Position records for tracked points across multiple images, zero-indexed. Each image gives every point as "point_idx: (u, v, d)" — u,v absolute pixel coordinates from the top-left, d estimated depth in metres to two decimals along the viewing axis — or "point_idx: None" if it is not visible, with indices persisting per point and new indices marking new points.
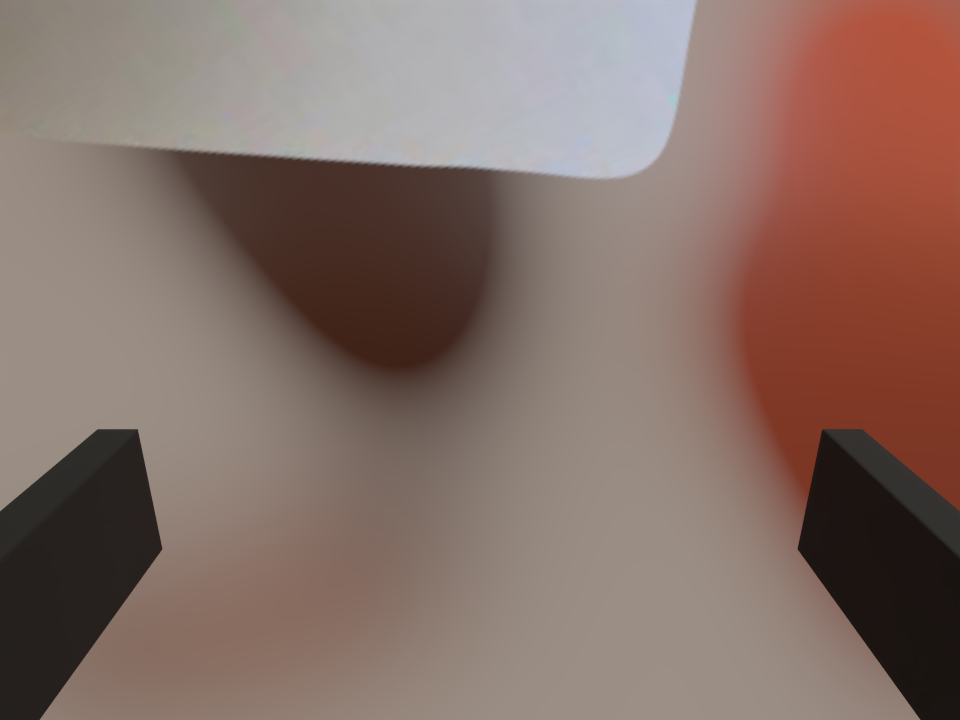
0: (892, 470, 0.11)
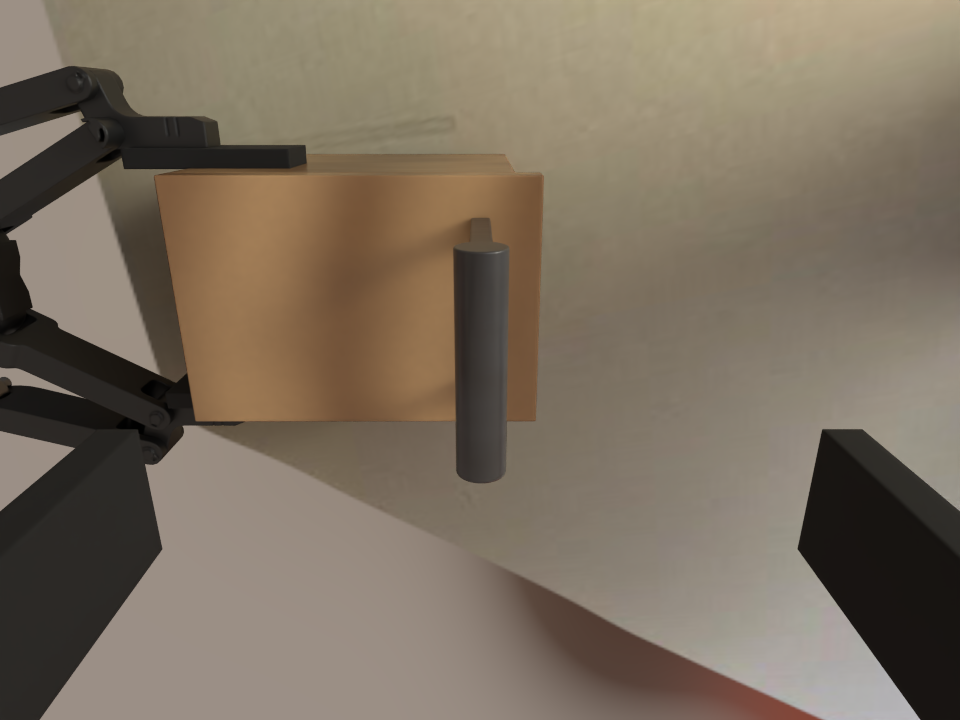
0: (892, 470, 0.11)
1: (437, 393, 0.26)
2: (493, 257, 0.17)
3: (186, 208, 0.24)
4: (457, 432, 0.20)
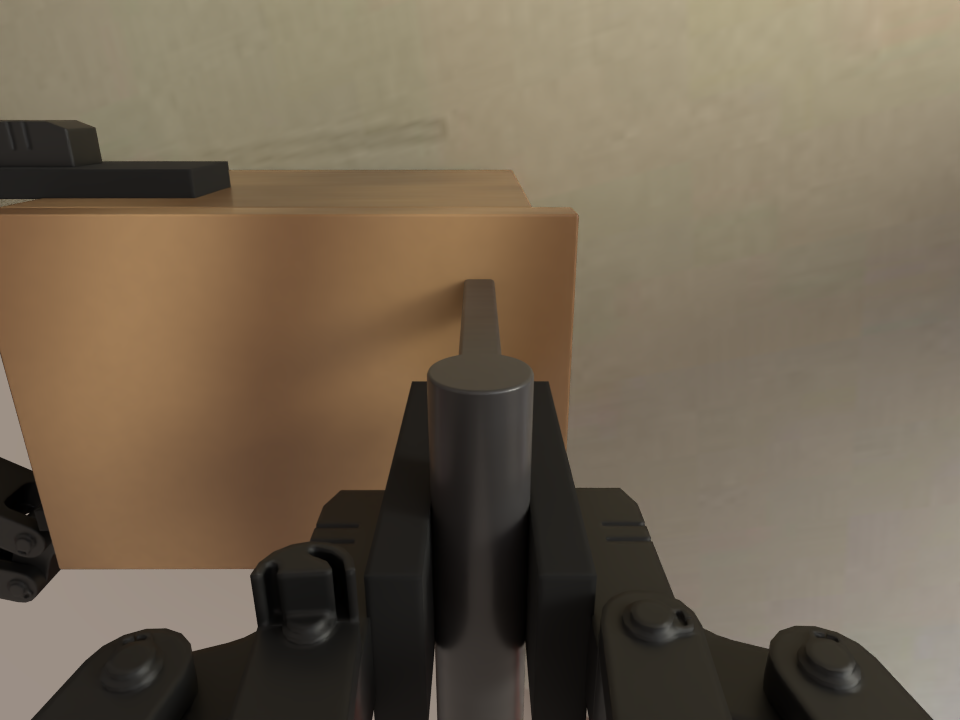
0: (540, 410, 0.13)
1: None
2: (504, 399, 0.09)
3: (18, 264, 0.15)
4: (438, 679, 0.11)
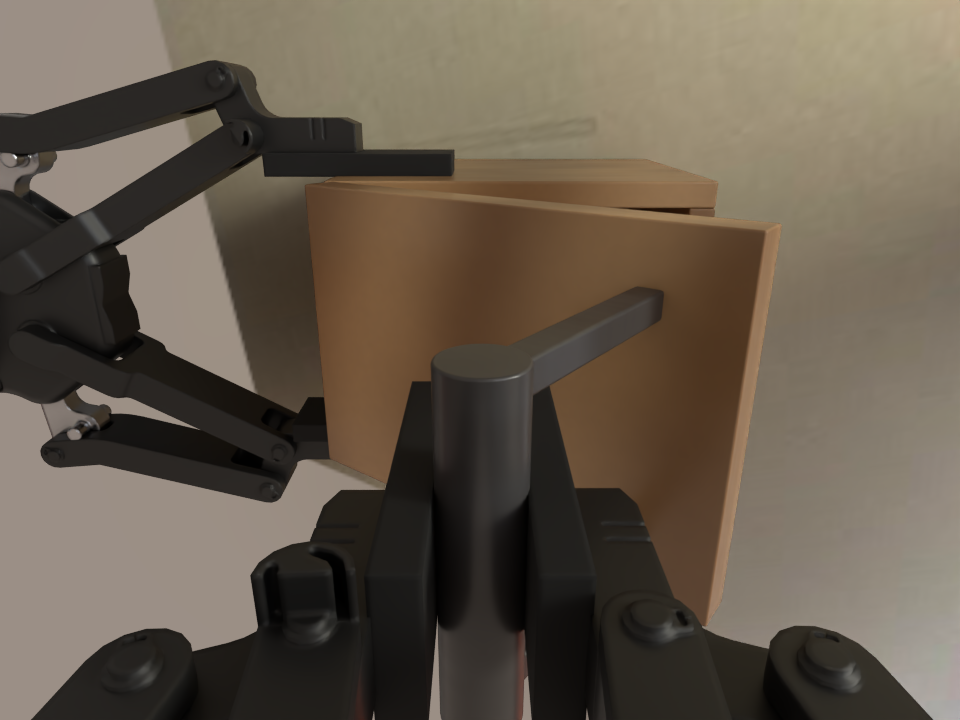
0: (540, 410, 0.13)
1: None
2: (471, 388, 0.09)
3: (328, 224, 0.20)
4: None
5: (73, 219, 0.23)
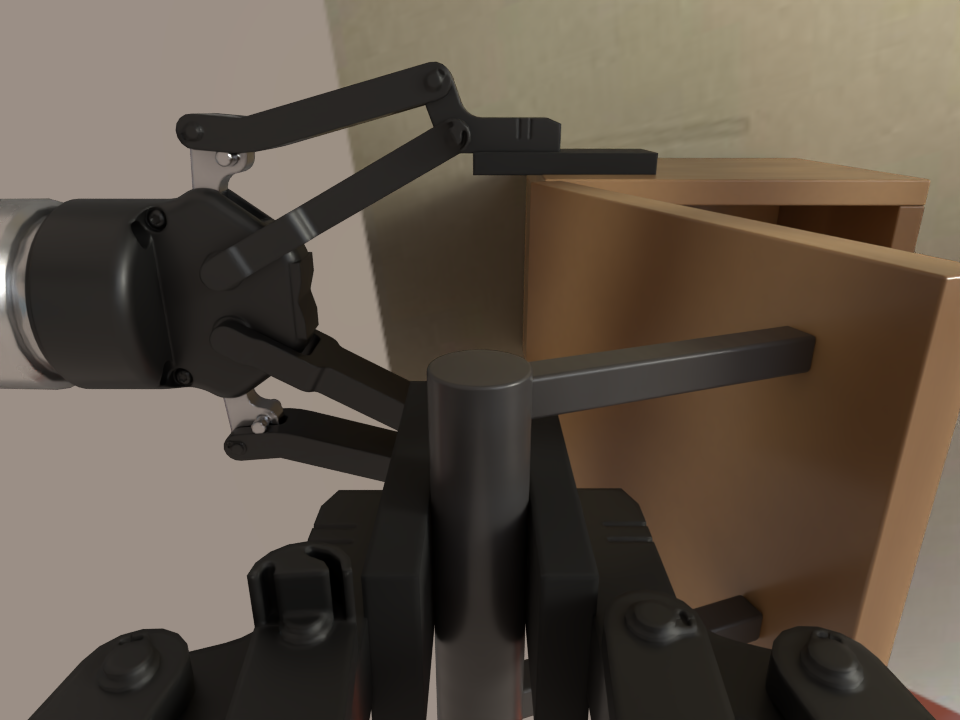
0: None
1: (695, 586, 0.16)
2: (442, 391, 0.09)
3: (542, 221, 0.21)
4: None
5: (285, 217, 0.24)
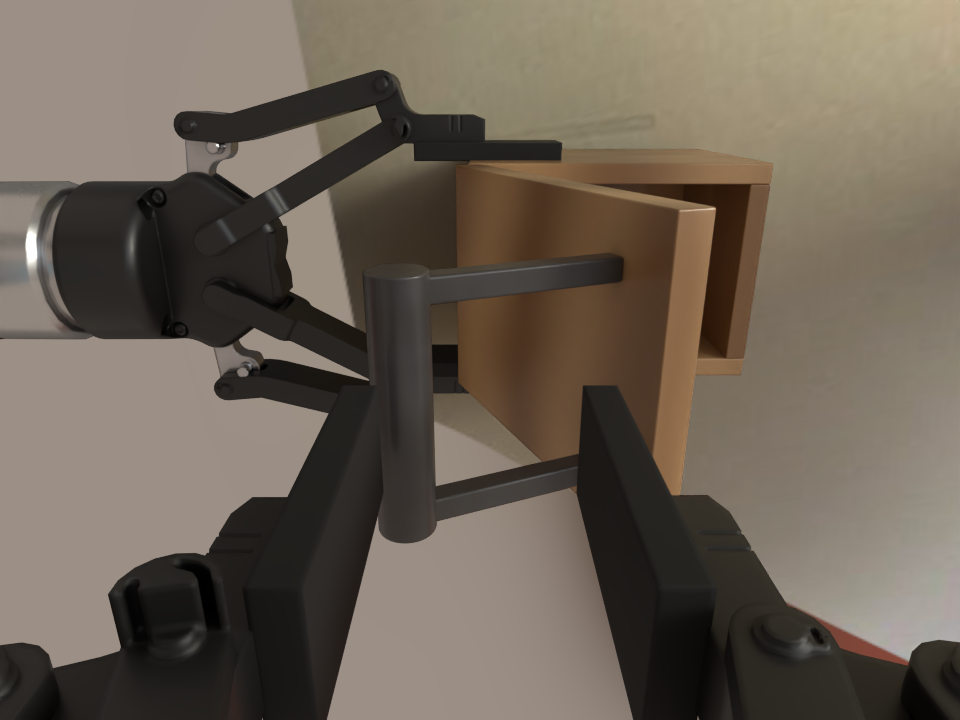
0: (616, 414, 0.13)
1: (570, 454, 0.21)
2: (371, 282, 0.15)
3: (464, 196, 0.26)
4: None
5: (262, 195, 0.29)
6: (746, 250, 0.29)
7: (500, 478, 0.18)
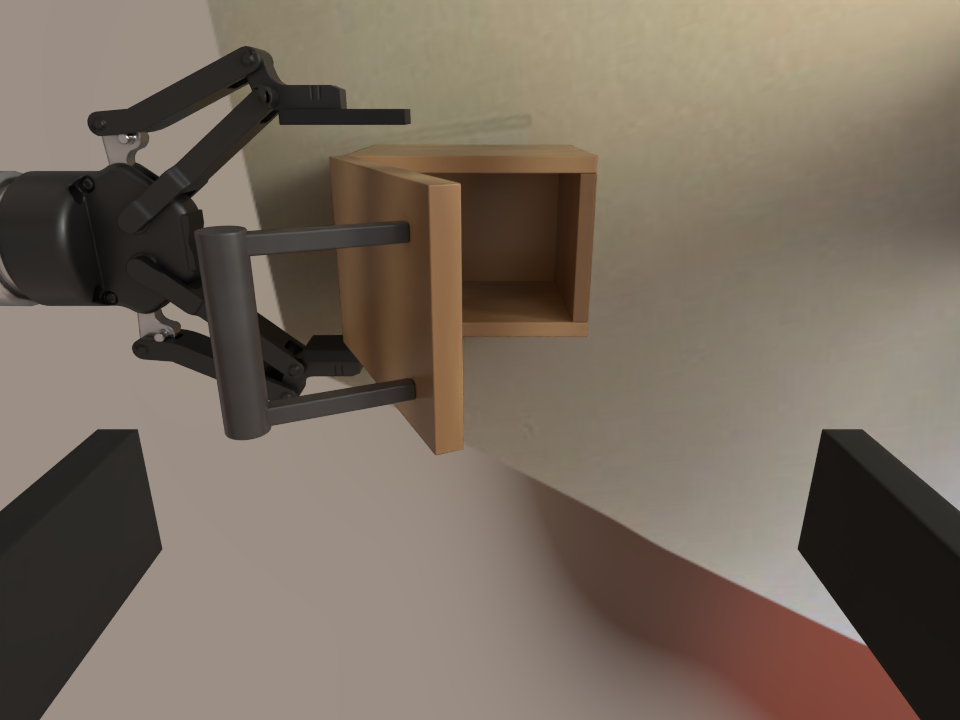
0: (892, 470, 0.11)
1: None
2: (198, 238, 0.20)
3: (335, 182, 0.32)
4: None
5: (164, 173, 0.35)
6: (581, 229, 0.34)
7: (324, 395, 0.24)
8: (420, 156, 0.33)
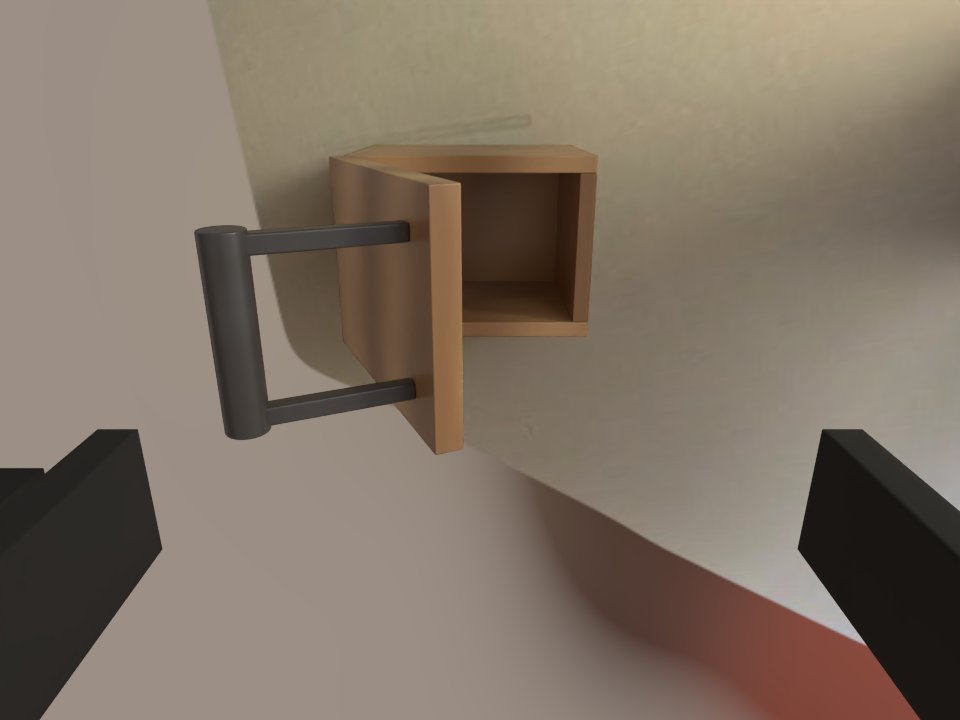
0: (892, 470, 0.11)
1: None
2: (198, 237, 0.20)
3: (335, 182, 0.32)
4: None
5: None
6: (581, 229, 0.34)
7: (324, 395, 0.24)
8: (420, 156, 0.33)
